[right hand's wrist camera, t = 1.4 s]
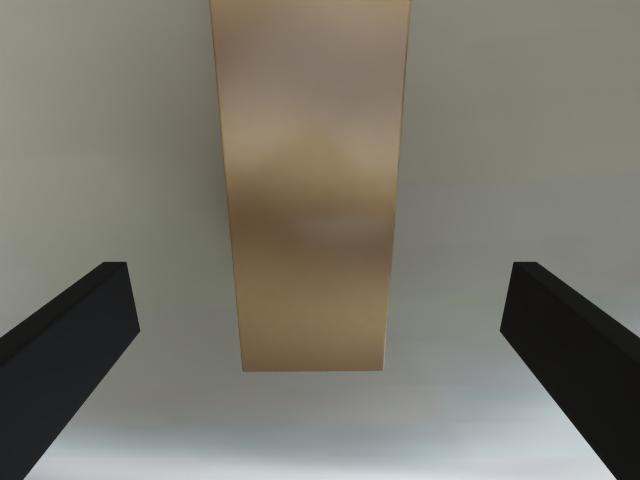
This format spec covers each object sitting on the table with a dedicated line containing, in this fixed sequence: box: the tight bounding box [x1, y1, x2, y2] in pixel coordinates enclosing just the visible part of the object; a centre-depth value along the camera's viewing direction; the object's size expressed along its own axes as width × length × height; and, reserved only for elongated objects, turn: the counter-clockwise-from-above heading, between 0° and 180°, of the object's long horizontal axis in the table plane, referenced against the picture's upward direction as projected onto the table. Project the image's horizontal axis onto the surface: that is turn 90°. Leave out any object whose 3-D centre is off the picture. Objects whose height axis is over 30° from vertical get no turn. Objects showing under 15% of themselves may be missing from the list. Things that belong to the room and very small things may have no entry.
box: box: [209, 0, 411, 372], centre depth 17 cm, size 24×6×12 cm, turn 0°
